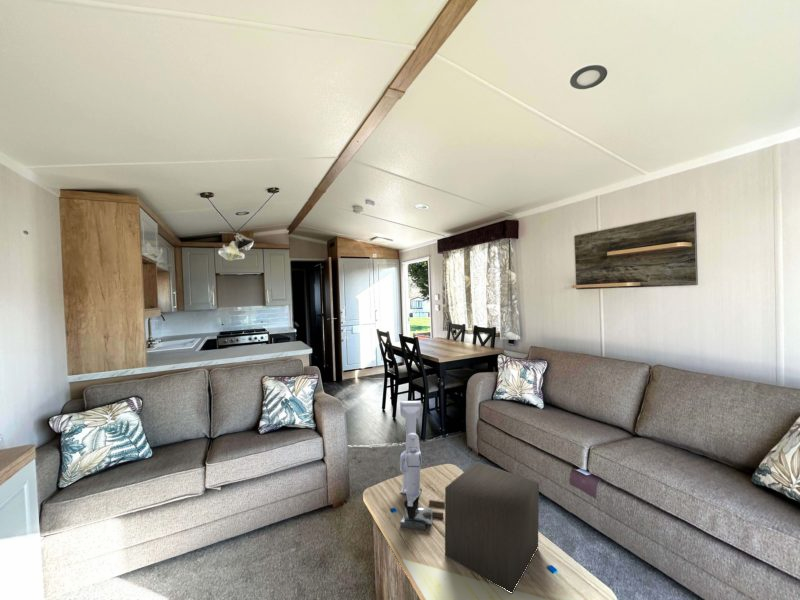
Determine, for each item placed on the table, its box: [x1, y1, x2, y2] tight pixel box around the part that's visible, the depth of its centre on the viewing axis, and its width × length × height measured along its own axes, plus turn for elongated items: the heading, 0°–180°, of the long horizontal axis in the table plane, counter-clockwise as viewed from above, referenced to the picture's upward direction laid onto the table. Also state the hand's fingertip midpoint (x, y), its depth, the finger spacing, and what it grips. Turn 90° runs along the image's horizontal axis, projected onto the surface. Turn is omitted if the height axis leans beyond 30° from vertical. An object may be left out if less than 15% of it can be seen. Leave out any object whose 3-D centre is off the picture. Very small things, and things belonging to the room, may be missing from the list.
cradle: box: [399, 508, 427, 532], centre depth 141 cm, size 9×10×2 cm
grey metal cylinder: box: [403, 506, 434, 525], centre depth 141 cm, size 11×5×5 cm, turn 78°
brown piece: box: [428, 499, 445, 519], centre depth 148 cm, size 8×7×2 cm
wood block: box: [444, 461, 540, 593], centre depth 125 cm, size 25×25×25 cm
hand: (413, 512), depth 141 cm, fingers open, 7 cm apart
